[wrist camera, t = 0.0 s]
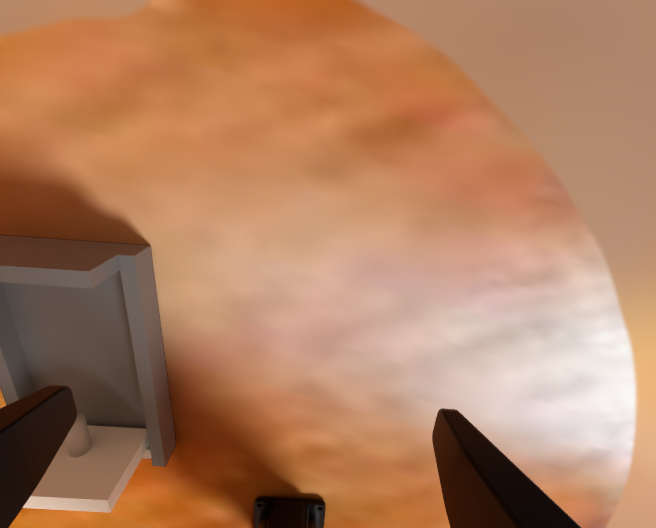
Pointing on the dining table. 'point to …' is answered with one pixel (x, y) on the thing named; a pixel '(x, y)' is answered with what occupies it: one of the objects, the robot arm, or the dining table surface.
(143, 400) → the lane
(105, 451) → the pusher
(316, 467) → the dining table surface
